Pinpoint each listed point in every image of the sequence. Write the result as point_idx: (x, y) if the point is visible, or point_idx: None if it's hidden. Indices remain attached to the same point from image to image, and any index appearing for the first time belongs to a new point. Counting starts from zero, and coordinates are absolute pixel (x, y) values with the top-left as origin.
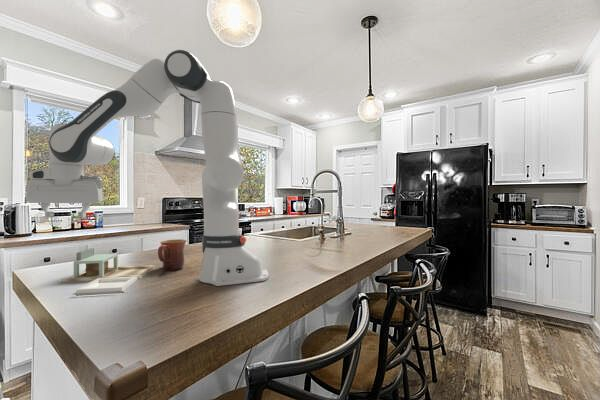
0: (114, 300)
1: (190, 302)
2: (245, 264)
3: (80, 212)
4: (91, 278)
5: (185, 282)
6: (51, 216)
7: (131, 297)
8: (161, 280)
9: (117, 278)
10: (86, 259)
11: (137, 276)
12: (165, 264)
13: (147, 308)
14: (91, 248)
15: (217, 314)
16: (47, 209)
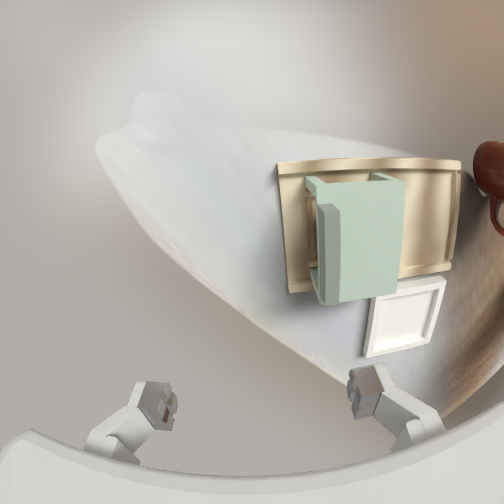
0: (418, 359)
1: (481, 352)
2: None
3: (370, 413)
4: None
5: (496, 282)
6: (174, 398)
7: (436, 348)
8: (473, 269)
9: (414, 292)
10: (345, 280)
11: (444, 269)
12: (487, 194)
13: (448, 371)
14: (331, 216)
15: (487, 369)
16: (137, 433)
